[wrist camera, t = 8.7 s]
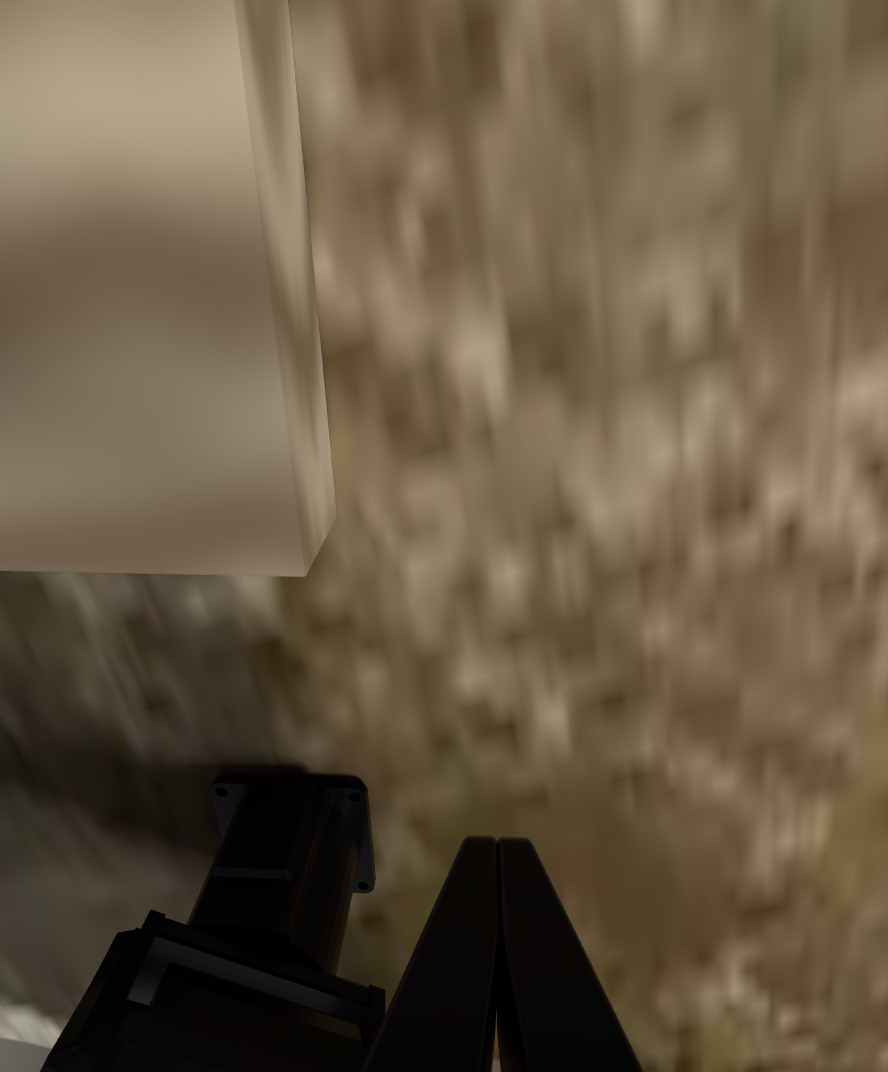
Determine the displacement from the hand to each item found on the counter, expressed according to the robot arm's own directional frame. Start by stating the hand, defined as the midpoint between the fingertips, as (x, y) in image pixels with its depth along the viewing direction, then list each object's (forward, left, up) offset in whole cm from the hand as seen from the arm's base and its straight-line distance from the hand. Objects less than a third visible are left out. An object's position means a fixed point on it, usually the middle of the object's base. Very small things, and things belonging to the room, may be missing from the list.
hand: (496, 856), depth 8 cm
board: (+6, +13, -13) cm, 19 cm away
